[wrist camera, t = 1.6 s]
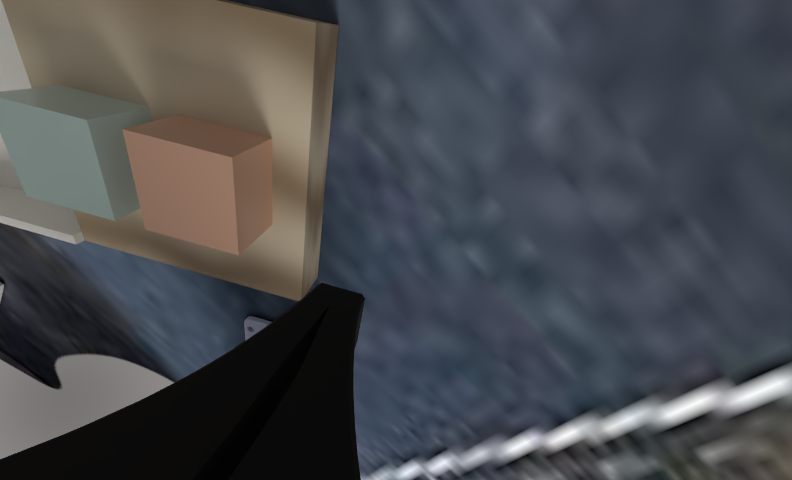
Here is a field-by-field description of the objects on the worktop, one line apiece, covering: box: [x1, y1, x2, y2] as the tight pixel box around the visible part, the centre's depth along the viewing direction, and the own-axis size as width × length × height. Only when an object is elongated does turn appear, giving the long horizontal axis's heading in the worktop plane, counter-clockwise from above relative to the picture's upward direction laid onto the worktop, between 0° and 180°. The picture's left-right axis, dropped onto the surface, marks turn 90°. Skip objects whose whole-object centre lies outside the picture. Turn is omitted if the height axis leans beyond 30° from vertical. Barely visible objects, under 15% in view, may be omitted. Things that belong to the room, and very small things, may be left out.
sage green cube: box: [0, 85, 152, 221], centre depth 16 cm, size 4×4×3 cm
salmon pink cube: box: [122, 115, 273, 255], centre depth 15 cm, size 4×4×3 cm
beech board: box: [1, 0, 339, 301], centre depth 18 cm, size 14×14×2 cm
